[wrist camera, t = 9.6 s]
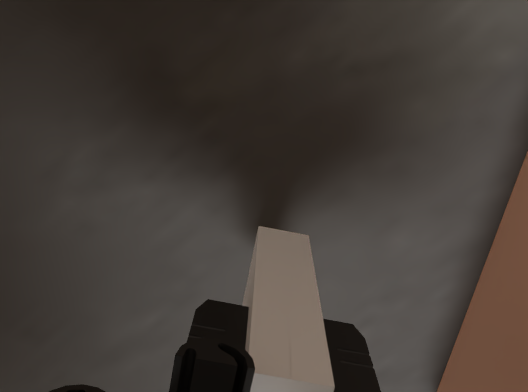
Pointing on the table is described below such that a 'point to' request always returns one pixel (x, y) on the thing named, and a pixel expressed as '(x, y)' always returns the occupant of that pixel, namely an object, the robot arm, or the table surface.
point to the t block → (497, 311)
